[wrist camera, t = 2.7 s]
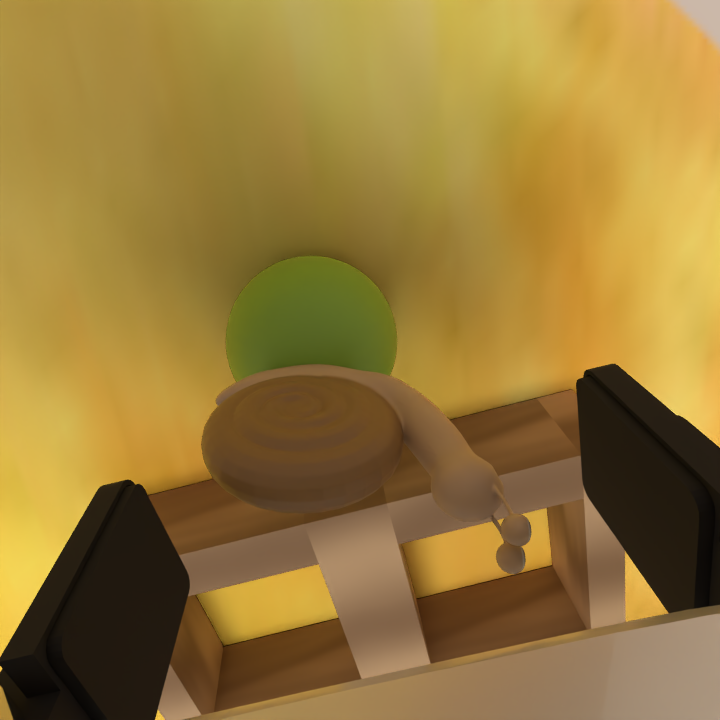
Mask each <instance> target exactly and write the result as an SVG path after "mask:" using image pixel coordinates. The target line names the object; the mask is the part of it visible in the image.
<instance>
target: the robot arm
mask: <svg viewBox="0 0 720 720" xmlns="http://www.w3.org/2000/svg"><path fill="white" fill-rule="evenodd" d="M576 389H577V405H578V421H579V436H580V452H581V468H582V481H583V486H584V489H585V492H586V494H587V496H588V498H589V500H590V501H591V503H592V504H593V505H594V507H595V508H596V510H597V511H598V513H599V514H600V515H601V517H602V518H603V520H604V521H605V523H606V524H607V525H608V527H609V528H610V530H611V531H612V533H613V534H614V535H615V537H616V538H617V540H618V541H619V543H620V544H621V546H622V547H623V548H624V550H625V551H626V553H627V554H628V556H629V557H630V558H631V560H632V561H633V563H634V564H635V566H636V567H637V568H638V570H639V571H640V573H641V574H642V576H643V577H644V578H645V580H646V581H647V583H648V584H649V586H650V587H651V588H652V590H653V591H654V593H655V594H656V596H657V597H658V598H659V600H660V601H661V603H662V604H663V606H664V607H665V609H666V610H667V611H668V613H669V614H664V615H658V616H653V617H648V618H643V619H638V620H633V621H628V622H623V623H618V624H613V625H608V626H603V627H598V628H593V629H588V630H584V631H579V632H575V633H570V634H565V635H561V636H556V637H551V638H547V639H542V640H538V641H533V642H528V643H524V644H519V645H514V646H510V647H505V648H501V649H496V650H491V651H487V652H482V653H478V654H473V655H468V656H464V657H459V658H454V659H450V660H445V661H441V662H436V663H432V664H427V665H423V666H418V667H414V668H409V669H405V670H400V671H396V672H391V673H387V674H382V675H378V676H373V677H369V678H364V679H360V680H355V681H351V682H346V683H342V684H337V685H333V686H328V687H324V688H319V689H315V690H310V691H306V692H301V693H297V694H292V695H288V696H284V697H279V698H275V699H270V700H266V701H262V702H257V703H253V704H249V705H244V706H240V707H235V708H231V709H227V710H222V711H218V712H214V713H209V714H205V715H200V716H196V717H192V718H187V719H183V720H720V448H719V447H718V446H717V445H716V444H715V443H713V442H712V441H711V440H710V439H709V438H707V437H706V436H705V435H704V434H703V433H702V432H700V431H699V430H698V429H697V428H696V427H694V426H693V425H692V424H691V423H690V422H688V421H687V420H686V419H684V418H683V417H681V416H678V415H676V414H674V413H673V412H672V411H671V410H670V409H668V408H667V407H666V406H665V405H664V404H663V403H661V402H660V401H659V400H658V399H657V398H655V397H654V396H653V395H652V394H651V393H650V392H648V391H647V390H646V389H645V388H644V387H643V386H641V385H640V384H639V383H638V382H637V381H635V380H634V379H633V378H632V377H631V376H630V375H628V374H627V373H626V372H625V371H624V370H623V369H621V368H620V367H619V366H618V365H616V364H609V365H605V366H601V367H597V368H593V369H588V370H586V371H585V372H584V378H581V379H578V380H577V383H576ZM189 590H190V579H189V575H188V572H187V570H186V568H185V566H184V564H183V562H182V560H181V558H180V557H179V555H178V553H177V551H176V549H175V547H174V545H173V543H172V541H171V539H170V537H169V535H168V533H167V531H166V530H165V528H164V526H163V524H162V522H161V520H160V518H159V516H158V514H157V512H156V510H155V508H154V506H153V504H152V503H151V501H150V499H149V497H148V495H147V493H146V491H145V489H144V488H143V486H142V485H140V484H136V485H135V484H134V482H132V481H131V480H124V481H120V482H116V483H111V484H107V485H103V486H101V487H100V488H99V489H98V490H97V492H96V494H95V495H94V497H93V499H92V500H91V502H90V504H89V506H88V507H87V509H86V511H85V513H84V514H83V516H82V518H81V519H80V521H79V523H78V525H77V526H76V528H75V530H74V531H73V533H72V535H71V537H70V538H69V540H68V542H67V544H66V545H65V547H64V549H63V550H62V552H61V554H60V556H59V557H58V559H57V561H56V562H55V564H54V566H53V568H52V569H51V571H50V573H49V574H48V576H47V578H46V580H45V581H44V583H43V585H42V587H41V588H40V590H39V592H38V593H37V595H36V597H35V599H34V600H33V602H32V604H31V605H30V607H29V609H28V611H27V612H26V614H25V616H24V618H23V619H22V621H21V623H20V624H19V626H18V628H17V630H16V631H15V633H14V635H13V636H12V638H11V640H10V642H9V643H8V645H7V647H6V648H5V650H4V652H3V654H2V655H1V657H0V666H1V667H2V668H3V669H2V671H1V672H0V720H155V717H156V714H157V710H158V706H159V702H160V699H161V695H162V691H163V687H164V684H165V680H166V676H167V672H168V669H169V665H170V661H171V658H172V654H173V650H174V646H175V643H176V639H177V635H178V631H179V628H180V624H181V620H182V616H183V613H184V609H185V605H186V602H187V598H188V594H189Z"/></svg>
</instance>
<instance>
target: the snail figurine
mask: <svg viewBox="0 0 720 720" xmlns="http://www.w3.org/2000/svg"><path fill="white" fill-rule="evenodd" d="M396 351H397V332H396V325H395V321H394V317H393V314H392V311H391V309H390V306H389V304H388V302H387V300H386V298H385V297H384V295H383V294H382V292H381V291H380V290H379V288H378V287H377V286H376V285H375V284H374V283H373V281H372V280H370V279H369V278H368V277H367V276H366V275H365V274H363V273H362V272H361V271H359V270H358V269H356V268H355V267H353V266H351V265H349V264H347V263H344V262H342V261H339V260H336V259H333V258H328V257H323V256H300V257H294V258H290V259H286V260H283V261H280V262H278V263H276V264H273V265H271V266H270V267H268V268H266V269H265V270H263V271H262V272H260V273H259V274H258V275H256V276H255V277H254V278H253V279H252V280H251V281H250V282H249V283H248V284H247V285H246V286H245V288H244V289H243V290H242V292H241V293H240V295H239V296H238V298H237V299H236V301H235V303H234V305H233V308H232V310H231V313H230V316H229V319H228V324H227V330H226V352H227V358H228V362H229V366H230V369H231V372H232V374H233V376H234V378H235V380H236V383H234V384H233V385H231V386H229V387H228V388H226V389H225V390H224V391H222V392H221V393H220V394H219V395H218V396H217V398H216V404H217V405H218V407H217V408H216V409H215V410H214V411H213V413H212V414H211V416H210V417H209V419H208V421H207V423H206V425H205V427H204V431H203V436H202V444H201V446H202V454H203V459H204V462H205V464H206V466H207V468H208V470H209V472H210V474H211V476H212V477H213V479H214V480H215V481H216V482H217V483H218V484H219V485H220V486H221V487H222V488H223V489H224V490H225V491H227V492H228V493H230V494H231V495H233V496H234V497H236V498H238V499H239V500H241V501H243V502H245V503H248V504H250V505H253V506H255V507H258V508H261V509H266V510H270V511H275V512H281V513H295V514H306V513H320V512H326V511H330V510H335V509H340V508H343V507H346V506H348V505H351V504H354V503H356V502H359V501H361V500H363V499H364V498H366V497H368V496H369V495H371V494H373V493H374V492H376V491H377V490H378V489H379V488H380V487H381V486H382V485H383V484H384V483H385V482H386V481H387V480H389V479H390V478H391V476H392V475H393V473H394V471H395V470H396V468H397V466H398V464H399V462H400V459H401V455H402V450H403V442H404V443H405V444H406V445H407V447H408V448H409V449H410V450H411V452H412V453H413V454H414V456H415V457H416V458H417V459H418V461H419V462H420V463H421V464H422V466H423V467H424V468H425V469H426V471H427V472H428V473H429V475H430V476H431V492H432V496H433V498H434V500H435V502H436V504H437V505H438V507H439V508H440V509H441V510H442V511H443V512H444V513H445V514H447V515H448V516H450V517H452V518H454V519H456V520H459V521H462V522H478V521H481V520H484V519H486V518H489V519H491V520H492V522H493V523H494V524H495V526H496V527H497V529H498V530H499V532H500V534H501V536H502V538H503V541H504V544H502V545H501V546H500V547H499V548H498V550H497V553H496V560H497V563H498V565H499V567H500V568H501V569H502V570H503V571H505V572H507V573H509V574H517V573H519V572H521V571H522V570H523V568H524V566H525V553H524V550H523V548H522V547H521V546H523V545H525V544H526V543H528V542H529V540H530V537H531V525H530V522H529V521H528V519H527V518H526V517H525V516H523V515H521V514H513V512H512V510H511V508H510V506H509V505H508V503H507V501H506V500H505V498H504V497H503V496H504V487H503V484H502V482H501V480H500V479H499V477H498V475H497V473H496V472H495V470H494V468H493V466H492V465H491V464H490V463H488V462H487V461H485V460H484V459H482V458H480V457H479V456H477V455H476V454H475V453H474V452H473V451H472V450H471V448H470V447H469V445H468V444H467V442H466V440H465V439H464V437H463V436H462V434H461V433H460V432H459V430H458V429H457V428H456V427H455V426H454V425H453V423H452V422H451V421H450V420H449V419H448V418H447V417H446V416H445V415H444V414H443V413H442V412H441V410H440V409H439V408H438V407H436V406H435V405H434V404H433V403H432V402H431V401H430V400H428V399H427V398H426V397H425V396H424V395H422V394H421V393H420V392H418V391H417V390H415V389H414V388H412V387H410V386H409V385H407V384H406V383H404V382H402V381H401V380H399V379H397V378H394V377H392V376H390V374H391V372H392V369H393V366H394V362H395V358H396ZM502 502H503V504H504V505H505V507H506V509H507V511H508V513H509V515H508V516H507V517H506V518H505V519H504V520H503V522H502V525H501V526H500V525H499V523H498V521H497V520H496V519H495V517H494V513H495V511H496V510H497V509H498V508H499V506H500V505H501V503H502Z"/></svg>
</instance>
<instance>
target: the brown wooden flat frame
mask: <svg viewBox="0 0 720 720" xmlns="http://www.w3.org/2000/svg"><path fill="white" fill-rule="evenodd" d="M450 421H451V422H452V423H453V425H454V426H455V427H456V428H457V429H458V430H459V432H460V433H461V434H462V436H463V437H464V439H465V440H466V442H467V444H468V445H469V447H470V448H471V450H472V451H473V452H474V453H475V454H476V455H477V456H479V457H480V458H482V459H484V460H485V461H487V462H488V463H490V464H491V465H492V466H493V468H494V470H495V472H496V473H497V475H498V477H499V479H500V480H501V482H502V484H503V487H504V496H503V497H504V498H505V500H506V501H507V503H508V505H509V506H510V508H511V510H512V512H513V514H523V513H527V512H531V511H535V510H539V509H543V508H547V513H548V523H549V533H550V544H551V554H552V565H553V566H550V567H546V568H542V569H538V570H534V571H530V572H526V573H522V574H518V575H514V576H510V577H506V578H501V579H497V580H493V581H489V582H485V583H481V584H477V585H473V586H469V587H465V588H461V589H457V590H453V591H449V592H444V593H440V594H436V595H432V596H428V597H424V598H420V599H416V596H415V593H414V589H413V585H412V581H411V578H410V574H409V570H408V566H407V563H406V559H405V555H404V552H403V548H402V543H406V542H410V541H414V540H418V539H422V538H426V537H430V536H434V535H438V534H442V533H446V532H450V531H454V530H458V529H462V528H466V527H470V526H475V525H479V524H483V523H487V522H491V521H492V520H491V519H489V518H486V519H484V520H481V521H478V522H462V521H459V520H456V519H454V518H452V517H450V516H448V515H447V514H445V513H444V512H443V511H442V510H441V509H440V508H439V507H438V505H437V504H436V502H435V500H434V498H433V496H432V492H431V476H430V475H429V473H428V472H427V471H426V469H425V468H424V467H423V466H422V464H421V463H420V462H419V461H418V459H417V458H416V457H415V456H414V454H413V453H412V452H411V450H410V449H409V448H408V447H407V445H406V444H405V443H404V442H403V450H402V455H401V459H400V462H399V464H398V466H397V468H396V470H395V471H394V473H393V475H392V476H391V478H390V479H389V480H387V481H386V482H385V483H384V484H383V485H382V486H381V487H380V488H379V489H378V490H377V491H376V492H374V493H373V494H371V495H369V496H368V497H366V498H364V499H363V500H361V501H359V502H356V503H354V504H351V505H348V506H346V507H343V508H340V509H335V510H330V511H326V512H320V513H306V514H295V513H281V512H275V511H270V510H266V509H261V508H258V507H255V506H253V505H250V504H248V503H245V502H243V501H241V500H239V499H238V498H236V497H234V496H233V495H231V494H230V493H228V492H227V491H225V490H224V489H223V488H222V487H221V486H220V485H219V484H218V483H217V482H216V481H215V480H214V479H212V480H208V481H204V482H200V483H196V484H192V485H188V486H184V487H181V488H177V489H173V490H169V491H165V492H161V493H157V494H153V495H149V496H148V497H149V499H150V501H151V503H152V504H153V506H154V508H155V510H156V512H157V514H158V516H159V518H160V520H161V522H162V524H163V526H164V528H165V530H166V531H167V533H168V535H169V537H170V539H171V541H172V543H173V545H174V547H175V549H176V551H177V553H178V555H179V557H180V558H181V560H182V562H183V564H184V566H185V568H186V570H187V572H188V575H189V579H190V590H189V594H188V598H187V602H186V605H185V609H184V613H183V616H182V620H181V624H180V628H179V631H178V635H177V639H176V643H175V646H174V650H173V654H172V658H171V661H170V665H169V669H168V672H167V676H166V680H165V684H164V687H163V691H162V695H161V699H160V702H159V706H158V710H159V711H160V713H161V714H162V716H163V717H164V719H165V720H183V719H187V718H192V717H196V716H200V715H205V714H209V713H214V712H218V711H222V710H227V709H231V708H235V707H240V706H244V705H249V704H253V703H257V702H262V701H266V700H270V699H275V698H279V697H284V696H288V695H292V694H297V693H301V692H306V691H310V690H315V689H319V688H324V687H328V686H333V685H337V684H342V683H346V682H351V681H355V680H360V679H364V678H369V677H373V676H378V675H382V674H387V673H391V672H396V671H400V670H405V669H409V668H414V667H418V666H423V665H427V664H432V663H436V662H441V661H445V660H450V659H454V658H459V657H464V656H468V655H473V654H478V653H482V652H487V651H491V650H496V649H501V648H505V647H510V646H514V645H519V644H524V643H528V642H533V641H538V640H542V639H547V638H551V637H556V636H561V635H565V634H570V633H575V632H579V631H584V630H588V629H593V628H598V627H603V626H608V625H613V624H618V623H623V622H625V550H624V548H623V547H622V546H621V544H620V543H619V541H618V540H617V538H616V537H615V535H614V534H613V533H612V531H611V530H610V528H609V527H608V525H607V524H606V523H605V521H604V520H603V518H602V517H601V515H600V514H599V513H598V511H597V510H596V508H595V507H594V505H593V504H592V503H591V501H590V500H589V498H588V496H587V494H586V492H585V489H584V486H583V481H582V468H581V452H580V436H579V421H578V405H577V395H576V393H575V392H574V391H573V390H568V391H564V392H560V393H556V394H552V395H548V396H544V397H540V398H536V399H532V400H528V401H524V402H520V403H516V404H512V405H508V406H504V407H500V408H496V409H492V410H488V411H484V412H480V413H476V414H472V415H468V416H464V417H460V418H456V419H452V420H450ZM508 515H509V513H508V511H507V509H506V507H505V505H504V504H503V502H502V503H501V505H500V506H499V508H498V509H497V510H496V511H495V513H494V517H495V519H496V520H499V519H503V518H506V517H507V516H508ZM317 564H319V566H320V568H321V571H322V574H323V577H324V579H325V582H326V585H327V587H328V590H329V593H330V595H331V598H332V601H333V603H334V606H335V609H336V611H337V614H338V617H339V619H335V620H331V621H326V622H322V623H318V624H314V625H310V626H306V627H302V628H298V629H294V630H290V631H286V632H282V633H278V634H274V635H269V636H265V637H261V638H257V639H253V640H249V641H245V642H241V643H237V644H233V645H229V646H225V647H223V645H222V643H221V641H220V639H219V637H218V636H217V634H216V632H215V630H214V628H213V626H212V624H211V623H210V621H209V619H208V617H207V615H206V613H205V611H204V610H203V608H202V606H201V604H200V602H199V600H198V598H197V597H196V594H200V593H204V592H208V591H212V590H216V589H220V588H224V587H228V586H232V585H236V584H240V583H244V582H248V581H252V580H256V579H260V578H264V577H268V576H272V575H276V574H281V573H285V572H289V571H293V570H297V569H301V568H305V567H309V566H313V565H317Z"/></svg>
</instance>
